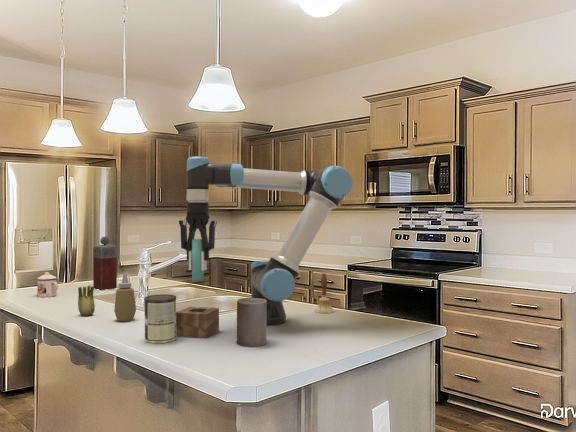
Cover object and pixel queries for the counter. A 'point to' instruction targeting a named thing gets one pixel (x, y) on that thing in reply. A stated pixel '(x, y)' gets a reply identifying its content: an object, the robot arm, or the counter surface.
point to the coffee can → (160, 318)
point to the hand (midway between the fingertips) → (197, 269)
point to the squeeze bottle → (125, 301)
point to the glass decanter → (104, 265)
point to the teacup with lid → (47, 285)
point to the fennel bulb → (86, 301)
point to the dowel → (197, 260)
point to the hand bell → (324, 299)
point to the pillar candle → (251, 321)
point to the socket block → (197, 322)
